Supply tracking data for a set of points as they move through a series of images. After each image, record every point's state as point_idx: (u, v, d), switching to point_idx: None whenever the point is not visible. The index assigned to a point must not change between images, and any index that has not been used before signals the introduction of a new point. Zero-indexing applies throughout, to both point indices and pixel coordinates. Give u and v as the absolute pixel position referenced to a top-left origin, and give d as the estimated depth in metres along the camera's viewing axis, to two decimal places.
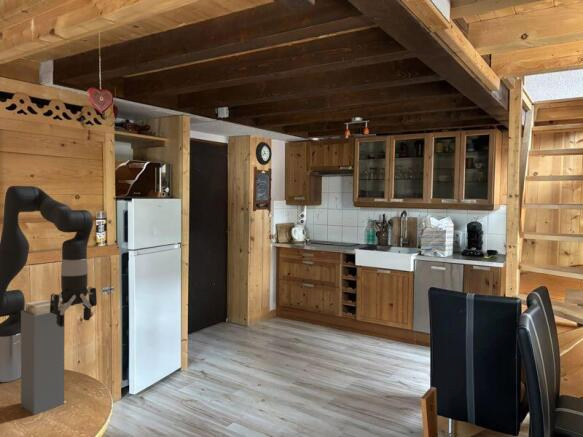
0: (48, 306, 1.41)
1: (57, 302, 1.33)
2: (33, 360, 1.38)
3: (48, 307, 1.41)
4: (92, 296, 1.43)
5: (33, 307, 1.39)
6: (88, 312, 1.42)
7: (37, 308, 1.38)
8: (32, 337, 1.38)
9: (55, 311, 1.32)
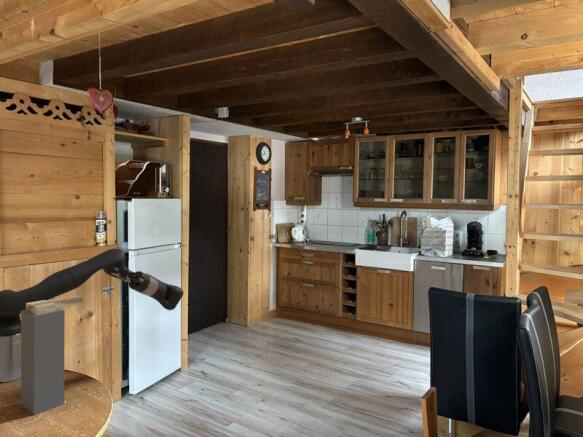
0: (48, 306, 1.41)
1: (136, 281, 1.65)
2: (33, 360, 1.38)
3: (48, 307, 1.41)
4: None
5: (33, 307, 1.39)
6: (109, 272, 1.67)
7: (37, 308, 1.38)
8: (32, 337, 1.38)
9: (132, 279, 1.63)
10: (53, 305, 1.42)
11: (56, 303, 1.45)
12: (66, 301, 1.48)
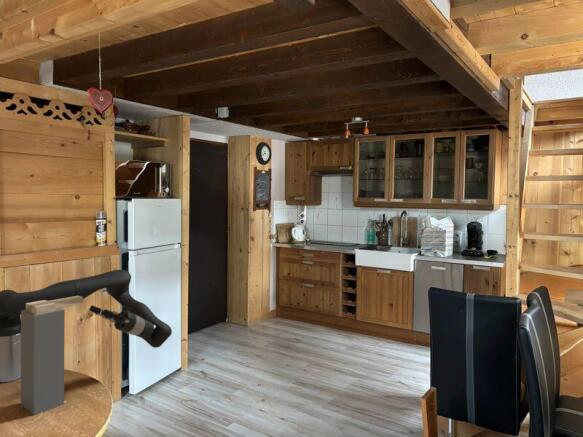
0: (48, 306, 1.41)
1: (122, 323, 1.61)
2: (33, 360, 1.38)
3: (48, 307, 1.41)
4: None
5: (33, 307, 1.39)
6: (94, 312, 1.63)
7: (37, 308, 1.38)
8: (32, 337, 1.38)
9: (117, 321, 1.59)
10: (53, 305, 1.42)
11: (56, 303, 1.45)
12: (66, 301, 1.48)
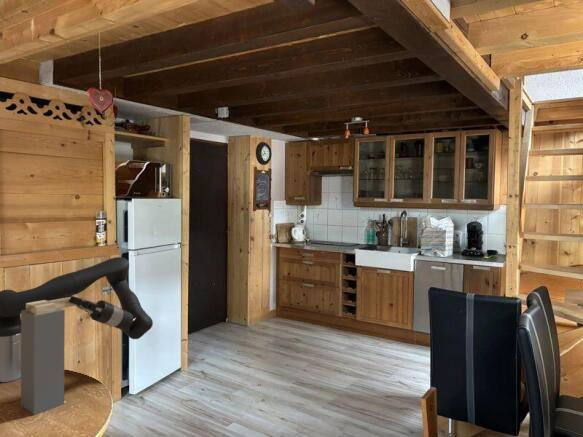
0: (48, 306, 1.41)
1: (92, 311, 1.52)
2: (33, 360, 1.38)
3: (48, 307, 1.41)
4: None
5: (33, 307, 1.39)
6: None
7: (37, 308, 1.38)
8: (32, 337, 1.38)
9: (85, 308, 1.51)
10: (53, 305, 1.42)
11: (56, 303, 1.45)
12: (66, 301, 1.48)
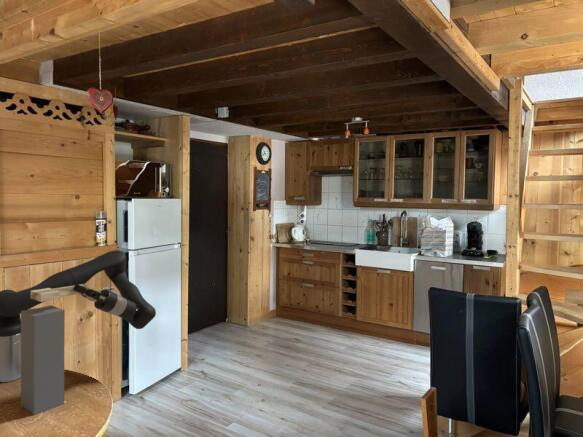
0: (53, 293, 1.42)
1: (96, 299, 1.53)
2: (33, 360, 1.38)
3: (53, 294, 1.42)
4: None
5: (38, 294, 1.40)
6: None
7: (42, 295, 1.39)
8: (32, 337, 1.38)
9: (89, 296, 1.52)
10: (58, 293, 1.43)
11: (60, 291, 1.46)
12: (70, 289, 1.49)
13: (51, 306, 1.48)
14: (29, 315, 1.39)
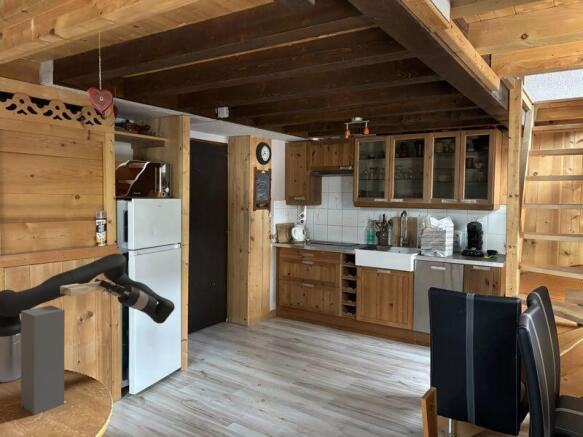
0: (81, 289, 1.50)
1: (121, 294, 1.61)
2: (33, 360, 1.38)
3: (81, 290, 1.50)
4: (106, 289, 1.67)
5: (68, 289, 1.48)
6: None
7: (72, 290, 1.47)
8: (32, 337, 1.38)
9: (114, 291, 1.60)
10: (86, 288, 1.51)
11: (88, 286, 1.54)
12: (97, 285, 1.57)
13: (51, 306, 1.48)
14: (29, 315, 1.39)
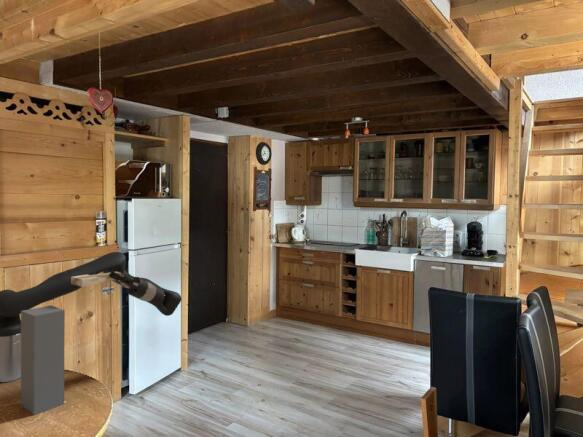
0: (92, 279, 1.53)
1: (130, 285, 1.64)
2: (33, 360, 1.38)
3: (92, 280, 1.53)
4: None
5: (79, 280, 1.51)
6: None
7: (83, 280, 1.50)
8: (32, 337, 1.38)
9: (124, 282, 1.63)
10: (96, 278, 1.54)
11: (98, 277, 1.57)
12: (107, 276, 1.60)
13: (51, 306, 1.48)
14: (29, 315, 1.39)
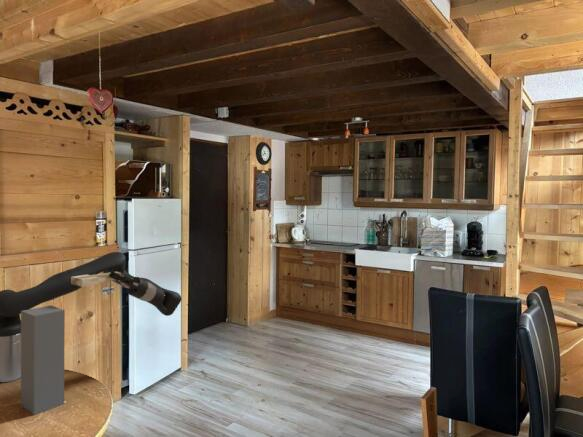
0: (92, 279, 1.53)
1: (130, 285, 1.64)
2: (33, 360, 1.38)
3: (92, 280, 1.53)
4: None
5: (79, 280, 1.51)
6: None
7: (83, 280, 1.50)
8: (32, 337, 1.38)
9: (124, 282, 1.63)
10: (96, 278, 1.54)
11: (98, 277, 1.57)
12: (107, 276, 1.60)
13: (51, 306, 1.48)
14: (29, 315, 1.39)
